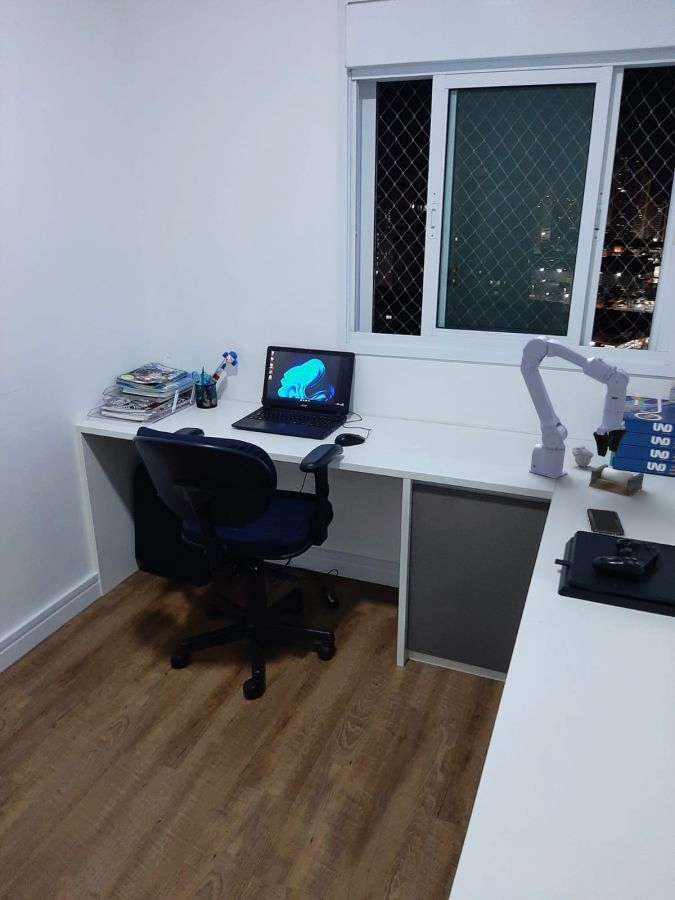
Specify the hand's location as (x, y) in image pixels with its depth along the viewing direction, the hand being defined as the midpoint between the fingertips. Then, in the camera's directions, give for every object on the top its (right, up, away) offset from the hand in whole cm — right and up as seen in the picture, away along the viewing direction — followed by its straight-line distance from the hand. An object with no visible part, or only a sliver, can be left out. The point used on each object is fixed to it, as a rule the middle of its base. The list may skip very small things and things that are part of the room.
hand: (607, 453), depth 204 cm
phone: (-12, -19, -28) cm, 36 cm away
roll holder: (+2, -10, -2) cm, 11 cm away
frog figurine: (-1, -4, +18) cm, 19 cm away
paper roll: (+2, -7, -3) cm, 8 cm away
